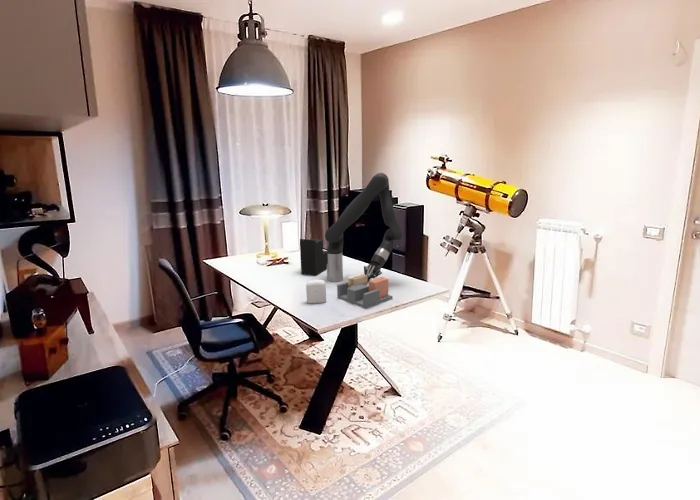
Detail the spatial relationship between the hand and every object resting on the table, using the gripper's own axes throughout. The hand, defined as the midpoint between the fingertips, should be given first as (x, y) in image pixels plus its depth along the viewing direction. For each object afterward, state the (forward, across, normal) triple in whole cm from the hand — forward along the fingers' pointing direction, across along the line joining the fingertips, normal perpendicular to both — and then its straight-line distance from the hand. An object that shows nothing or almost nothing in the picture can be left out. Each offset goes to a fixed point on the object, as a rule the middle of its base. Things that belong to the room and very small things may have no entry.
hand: (365, 282), depth 237 cm
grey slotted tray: (+8, +6, 0) cm, 10 cm away
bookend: (-1, -53, +10) cm, 54 cm away
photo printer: (+24, -8, -16) cm, 30 cm away
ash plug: (+7, 0, -1) cm, 7 cm away
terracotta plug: (+4, +12, +2) cm, 13 cm away
